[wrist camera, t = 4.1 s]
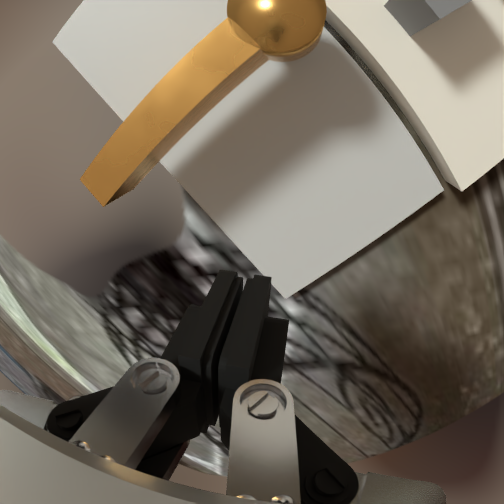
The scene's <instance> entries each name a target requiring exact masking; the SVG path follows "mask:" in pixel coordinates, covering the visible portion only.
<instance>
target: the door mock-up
mask: <svg viewBox="0 0 504 504" xmlns="http://www.w3.org/2000/svg"><path fill="white" fill-rule="evenodd" d="M325 1H326V7H327V13H326V19H325V20H326V21H327V22H328V23H329V24H330V25H331V26H332V27H333V28H334V29H335V30H336V31H337V33H338V34H339V35H340V36H341V37H342V38H343V39H344V40H345V41H346V42H347V43H348V45H349V46H350V47H351V48H352V49H353V50H354V51H355V53H356V54H357V55H358V56H359V57H360V58H361V60H362V61H363V62H364V63H365V64H366V65H367V67H368V68H369V69H370V70H371V72H372V73H373V74H374V75H375V77H376V78H377V79H378V80H379V82H380V83H381V84H382V85H383V87H384V88H385V89H386V91H387V92H388V93H389V95H390V96H391V97H392V99H393V100H394V102H395V103H396V104H397V106H398V107H399V108H400V110H401V111H402V113H403V114H404V116H405V117H406V118H407V120H408V121H409V123H410V124H411V126H412V127H413V129H414V130H415V132H416V133H417V135H418V136H419V138H420V140H421V141H422V143H423V144H424V146H425V147H426V149H427V151H428V152H429V154H430V156H431V157H432V159H433V161H434V162H435V164H436V166H437V167H438V169H439V171H440V173H441V174H442V176H443V178H444V180H445V181H446V182H448V183H450V184H451V185H453V186H454V187H456V188H457V189H459V190H460V191H463V190H465V189H466V188H467V187H468V186H470V185H471V184H472V183H474V182H475V181H476V180H477V179H479V178H480V177H481V176H482V175H484V174H485V173H486V172H487V171H489V170H490V169H491V168H492V167H494V166H495V165H496V164H497V163H499V162H500V161H501V160H502V159H503V158H504V0H325ZM227 3H228V0H84V1H83V2H82V4H81V5H80V6H79V7H78V8H77V9H76V11H75V12H74V13H73V15H72V16H71V17H70V18H69V20H68V21H67V22H66V24H65V25H64V26H63V28H62V29H61V30H60V32H59V33H58V35H57V36H56V38H55V39H54V40H53V43H54V44H55V46H56V47H57V48H58V49H59V50H60V51H61V52H62V53H63V55H64V56H65V57H66V58H67V59H68V60H69V61H70V62H71V63H72V65H73V66H74V67H75V68H76V69H77V70H78V71H79V72H80V73H81V75H82V76H83V77H84V78H85V79H86V80H87V81H88V82H89V84H90V85H91V86H92V87H93V88H94V89H95V90H96V91H97V93H98V94H99V95H100V96H101V97H102V98H103V99H104V100H105V101H106V103H107V104H108V105H109V106H110V107H111V108H112V109H113V110H114V112H115V113H116V114H117V115H118V116H119V117H120V118H121V119H122V120H123V122H124V121H125V119H126V118H127V117H128V116H129V115H130V113H131V112H132V111H133V110H134V109H135V108H136V106H137V105H138V104H139V103H140V102H141V101H142V100H143V99H144V97H145V96H146V95H147V94H148V93H149V92H150V91H151V90H152V89H153V88H154V87H155V85H156V84H157V83H158V82H159V81H160V80H161V79H162V78H163V77H164V76H165V75H166V74H167V73H168V72H169V71H170V70H171V69H172V68H173V67H174V66H175V65H176V64H177V63H178V62H179V61H180V60H181V59H182V58H183V57H184V56H185V55H186V54H187V53H188V52H189V51H190V50H191V49H192V48H193V47H195V46H196V45H197V44H198V43H199V42H200V41H201V40H202V39H203V38H204V37H206V36H207V35H208V34H209V33H210V32H211V31H212V30H213V29H215V28H216V27H217V26H218V25H219V24H220V23H222V22H223V21H224V20H225V19H226V18H228V17H227ZM160 162H161V163H162V165H163V166H164V167H165V168H166V169H167V170H168V171H169V172H170V173H171V175H172V176H173V177H174V178H175V179H176V180H177V181H178V182H179V183H180V184H181V186H182V187H183V188H184V189H185V190H186V191H187V192H188V193H189V194H190V195H191V197H192V198H193V199H194V200H195V201H196V202H197V203H198V204H199V205H200V206H201V208H202V209H203V210H204V211H205V212H206V213H207V214H208V215H209V216H210V217H211V218H212V220H213V221H214V222H215V223H216V224H217V225H218V226H219V227H220V228H221V229H222V231H223V232H224V233H225V234H226V235H227V236H228V237H229V238H230V239H231V240H232V241H233V243H234V244H235V245H236V246H237V247H238V248H239V249H240V250H241V251H242V252H243V253H244V254H245V256H246V257H247V258H248V259H249V260H250V261H251V262H252V263H253V264H254V265H255V266H256V268H257V269H258V270H259V271H260V272H261V273H262V274H263V275H264V276H268V277H272V279H271V284H272V285H273V286H274V287H275V288H276V289H277V290H278V291H279V292H280V294H281V295H282V296H283V297H284V298H285V299H286V298H288V297H289V296H291V295H293V294H294V293H296V292H297V291H299V290H300V289H302V288H304V287H305V286H307V285H308V284H310V283H311V282H313V281H314V280H316V279H317V278H319V277H321V276H322V275H324V274H325V273H327V272H328V271H330V270H331V269H333V268H334V267H336V266H337V265H339V264H340V263H342V262H343V261H345V260H346V259H348V258H349V257H351V256H352V255H354V254H355V253H357V252H358V251H360V250H361V249H362V248H364V247H365V246H367V245H368V244H370V243H371V242H373V241H374V240H376V239H377V238H378V237H380V236H381V235H383V234H384V233H386V232H387V231H388V230H390V229H391V228H393V227H394V226H395V225H397V224H398V223H400V222H401V221H403V220H404V219H405V218H407V217H408V216H409V215H411V214H412V213H414V212H415V211H416V210H418V209H419V208H421V207H422V206H423V205H425V204H426V203H427V202H429V201H430V200H431V199H433V198H434V197H435V196H437V195H438V194H439V193H441V192H442V191H443V190H444V189H443V188H442V186H441V184H440V182H439V180H438V179H437V177H436V175H435V174H434V172H433V170H432V168H431V167H430V165H429V163H428V162H427V160H426V158H425V157H424V155H423V154H422V152H421V150H420V149H419V147H418V146H417V144H416V143H415V141H414V139H413V138H412V136H411V135H410V133H409V132H408V130H407V129H406V127H405V126H404V125H403V123H402V122H401V120H400V119H399V117H398V116H397V115H396V113H395V112H394V110H393V109H392V108H391V106H390V105H389V103H388V102H387V101H386V99H385V98H384V97H383V95H382V94H381V93H380V92H379V90H378V89H377V88H376V86H375V85H374V84H373V83H372V81H371V80H370V79H369V78H368V76H367V75H366V74H365V73H364V71H363V70H362V69H361V68H360V67H359V65H358V64H357V63H356V62H355V61H354V60H353V58H352V57H351V56H350V55H349V54H348V53H347V51H346V50H345V49H344V48H343V47H342V46H341V45H340V44H339V43H338V41H337V40H336V39H335V38H334V37H333V36H332V35H331V34H330V33H329V32H328V31H327V30H326V29H325V28H324V27H323V31H322V35H321V38H320V41H319V43H318V44H317V46H316V47H315V48H314V50H313V51H311V52H310V53H309V54H308V55H306V56H305V57H302V58H300V59H298V60H294V61H290V62H276V61H271V60H268V61H267V62H266V63H265V64H263V65H262V66H261V67H260V68H258V69H257V70H256V71H255V72H254V73H252V74H251V75H250V76H249V77H248V78H246V79H245V80H244V81H243V82H242V83H241V84H239V85H238V86H237V87H236V88H235V89H234V90H233V91H231V92H230V93H229V94H228V95H227V96H226V97H225V98H224V99H222V100H221V101H220V102H219V103H218V104H217V105H216V106H215V107H214V108H213V109H211V110H210V111H209V112H208V113H207V114H206V115H205V116H204V117H203V118H202V119H201V120H200V121H199V122H198V123H197V124H196V125H195V126H194V127H193V128H191V129H190V130H189V131H188V132H187V133H186V134H185V135H184V136H183V137H182V138H181V139H180V140H179V141H178V142H177V143H176V144H175V145H174V146H173V147H172V148H171V149H170V150H169V152H168V153H167V154H166V155H165V156H164V157H163V158H162V159H161V160H160Z"/></svg>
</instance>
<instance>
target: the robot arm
mask: <svg viewBox="0 0 504 504" xmlns="http://www.w3.org/2000/svg"><path fill="white" fill-rule="evenodd" d="M271 279H272V277H268V276H261V275H254V278H253V279H250V278H247V281H246V284H245V287H244V290H243V277H238V275H237V272H232V271H225V270H220V271H219V273H218V275H217V277H216V279H215V281H214V283H213V285H212V287H211V289H210V291H209V293H208V295H207V297H206V299H205V301H204V303H203V305H202V306H196V305H190V306H189V307H188V308H187V310H186V312H185V314H184V316H183V318H182V319H181V321H180V323H179V325H178V327H177V329H176V330H175V332H174V334H173V336H172V338H171V340H170V341H169V343H168V345H167V347H166V349H165V351H164V353H163V354H162V356H161V358H148V359H143V360H140V361H138V362H136V363H135V364H133V365H132V366H131V367H130V368H129V369H128V370H127V371H126V373H125V374H124V375H123V376H122V377H121V379H120V380H119V381H118V382H117V383H116V385H115V386H113V387H110V388H107V389H104V390H101V391H98V392H95V393H92V394H89V395H85V396H82V397H80V396H78V397H73V398H71V399H70V400H69V401H65V402H63V403H61V404H58V405H56V404H55V403H54V401H51V400H46V399H42V398H37V397H33V396H29V395H25V394H21V393H17V392H13V391H10V390H1V391H0V504H446V495H445V493H444V491H443V489H442V488H440V487H439V486H438V485H437V484H433V483H430V482H424V481H417V480H409V479H403V478H397V477H391V476H386V475H380V474H376V473H370V472H368V473H367V474H361V473H357V472H354V470H353V469H352V468H351V467H350V466H349V465H348V464H347V463H346V462H345V461H344V460H342V459H341V458H340V457H339V456H338V455H337V454H336V453H335V452H334V451H333V450H331V449H330V448H329V447H328V446H327V445H326V444H325V443H324V442H323V441H322V440H321V439H320V438H319V437H318V436H316V435H315V434H314V433H313V432H312V431H311V430H310V429H309V428H308V427H307V426H306V425H305V424H304V423H303V422H302V421H301V420H300V419H299V418H298V417H297V416H296V415H295V414H294V403H293V398H292V395H291V393H290V392H289V391H288V389H287V388H286V387H284V386H283V385H282V384H281V377H282V370H283V362H284V355H285V348H286V340H287V332H288V325H289V320H286V319H279V318H272V317H268V308H269V299H270V289H271ZM218 415H219V423H220V427H221V441H222V442H223V443H224V445H225V446H226V447H227V449H228V450H229V462H228V476H227V490H226V495H223V494H218V493H214V492H209V491H205V490H201V489H196V488H192V487H189V486H185V485H181V484H178V483H174V482H171V481H169V479H170V477H171V476H172V474H173V472H174V470H175V469H176V467H177V465H178V463H179V462H180V460H181V458H182V457H183V455H184V453H185V451H186V449H187V448H188V446H189V443H190V439H193V438H195V437H197V436H199V435H200V432H202V433H207V430H208V427H209V425H213V426H215V424H216V421H217V418H218Z"/></svg>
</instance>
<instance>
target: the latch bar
mask: <svg viewBox="0 0 504 504" xmlns="http://www.w3.org/2000/svg"><path fill="white" fill-rule="evenodd" d="M326 13H327V7H326V1H325V0H228V3H227V17H228V18H226V19H225V20H224V21H223V22H222V23H220V24H219V25H218V26H217V27H216V28H215V29H213V30H212V31H211V32H210V33H209V34H208V35H207V36H206V37H204V38H203V39H202V40H201V41H200V42H199V43H198V44H197V45H196V46H195V47H193V48H192V49H191V50H190V51H189V52H188V53H187V54H186V55H185V56H184V57H183V58H182V59H181V60H180V61H179V62H178V63H177V64H176V65H175V66H174V67H173V68H172V69H171V70H170V71H169V72H168V73H167V74H166V75H165V76H164V77H163V78H162V79H161V80H160V81H159V82H158V83H157V84H156V85H155V87H154V88H153V89H152V90H151V91H150V92H149V93H148V94H147V95H146V96H145V97H144V99H143V100H142V101H141V102H140V103H139V104H138V105H137V106H136V108H135V109H134V110H133V111H132V112H131V113H130V115H129V116H128V117H127V118H126V119H125V121H124V122H123V123H122V124H121V125H120V127H119V128H118V129H117V130H116V132H115V133H114V134H113V136H112V137H111V138H110V139H109V140H108V142H107V143H106V144H105V146H104V147H103V148H102V150H101V151H100V152H99V153H98V155H97V156H96V157H95V159H94V160H93V162H92V163H91V164H90V166H89V167H88V169H87V170H86V171H85V173H84V174H83V175H82V177H81V178H80V180H81V181H82V183H83V184H84V185H85V186H86V187H87V188H88V190H89V191H90V192H91V193H92V194H93V196H94V197H95V198H96V199H97V200H98V201H99V202H100V204H101V205H102V206H103V207H104V206H106V205H108V204H109V203H111V202H113V201H114V200H116V199H118V198H119V197H121V196H123V195H124V194H126V193H128V192H130V191H131V190H133V189H134V188H135V187H136V186H137V185H138V184H139V183H140V181H141V180H142V179H143V178H144V177H145V176H146V175H147V174H148V173H149V172H150V170H151V169H152V168H153V167H154V166H155V165H156V164H157V163H158V162H159V161H160V160H161V159H162V158H163V157H164V156H165V155H166V154H167V153H168V152H169V150H170V149H171V148H172V147H173V146H174V145H175V144H176V143H177V142H178V141H179V140H180V139H181V138H182V137H183V136H184V135H185V134H186V133H187V132H188V131H189V130H190V129H191V128H193V127H194V126H195V125H196V124H197V123H198V122H199V121H200V120H201V119H202V118H203V117H204V116H205V115H206V114H207V113H208V112H209V111H210V110H211V109H213V108H214V107H215V106H216V105H217V104H218V103H219V102H220V101H221V100H222V99H224V98H225V97H226V96H227V95H228V94H229V93H230V92H231V91H233V90H234V89H235V88H236V87H237V86H238V85H239V84H241V83H242V82H243V81H244V80H245V79H246V78H248V77H249V76H250V75H251V74H252V73H254V72H255V71H256V70H257V69H258V68H260V67H261V66H262V65H263V64H265V63H266V62H267V61H268V60H271V61H276V62H290V61H294V60H298V59H300V58H302V57H305V56H306V55H308V54H309V53H310V52H311V51H313V50H314V48H315V47H316V46H317V44H318V43H319V41H320V38H321V35H322V31H323V27H324V23H325V19H326Z"/></svg>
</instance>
